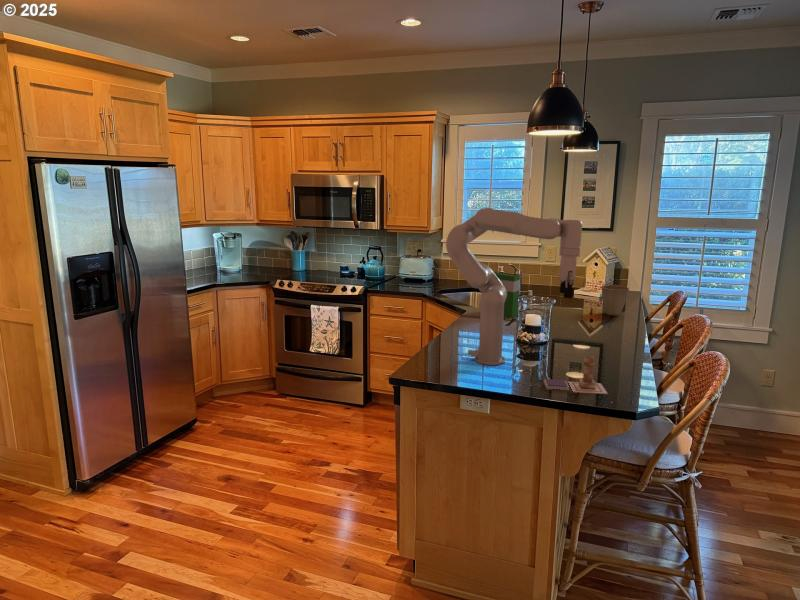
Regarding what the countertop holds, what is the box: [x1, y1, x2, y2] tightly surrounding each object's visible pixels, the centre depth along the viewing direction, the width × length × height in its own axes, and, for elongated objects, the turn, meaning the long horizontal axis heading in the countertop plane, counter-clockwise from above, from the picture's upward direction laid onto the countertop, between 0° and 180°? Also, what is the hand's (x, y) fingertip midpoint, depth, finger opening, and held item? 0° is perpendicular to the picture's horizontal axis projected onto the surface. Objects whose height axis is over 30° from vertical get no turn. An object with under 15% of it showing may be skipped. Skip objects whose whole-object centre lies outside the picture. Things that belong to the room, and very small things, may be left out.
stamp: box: [578, 355, 597, 390], centre depth 191 cm, size 5×4×12 cm
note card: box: [567, 381, 608, 395], centre depth 192 cm, size 12×10×1 cm
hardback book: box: [493, 271, 521, 319], centre depth 300 cm, size 18×7×24 cm, turn 52°
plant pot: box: [601, 284, 630, 316], centre depth 306 cm, size 15×15×16 cm
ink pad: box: [543, 378, 570, 391], centre depth 193 cm, size 8×7×2 cm
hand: (566, 295), depth 207 cm, fingers open, 9 cm apart
